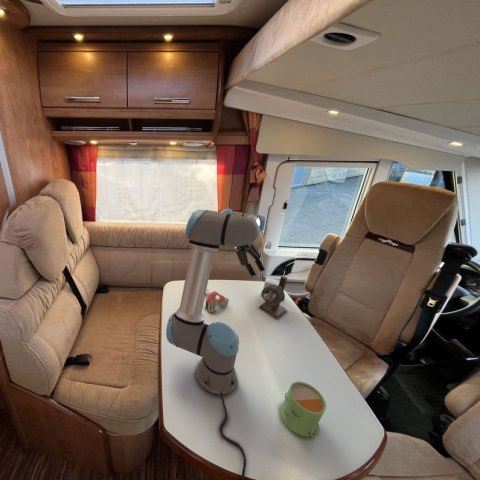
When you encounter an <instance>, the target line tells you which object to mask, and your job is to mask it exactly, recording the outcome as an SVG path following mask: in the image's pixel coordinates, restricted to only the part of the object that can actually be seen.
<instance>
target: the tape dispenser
mask: <svg viewBox="0 0 480 480" xmlns="http://www.w3.org/2000/svg"><path fill="white" fill-rule="evenodd" d="M205 296H207V298H206V300H205V309H206V310H207V311H208V312H209V313H213V312H215V311H216V304H217V306H218V307H220V308H221V307H226V308H227V307H228V305H229V303H230V299H229V298H227V297H225V296H224V295H223V294H220V293H218V291H214V290H213V291H210V290H208V288H207V289H206V294H205ZM217 296H218V299H216V298H217Z"/></svg>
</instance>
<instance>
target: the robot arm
mask: <svg viewBox="0 0 480 480" xmlns="http://www.w3.org/2000/svg"><path fill="white" fill-rule="evenodd" d="M266 220H267V217H266V216H265V215H261V214H253V213H246V212H240V211H233V209H232V208H225V209H223V210H221V211H215V210H210V209H196V210H194V211H193V212H192V213H191V214H190V216H189V218H188V220H187V223H186V226H185V231H184V232H185V233H184V235H185V237H186V238H187V239H188V245H189V246H190V248H191V249H190V254H189V260H188V264H187V268H186V274H185V279H184V284H183V289H182V294H181V299H180V305H179V307H178V308H176V309H175V310H174V312H172V313H171V314H170V316H169V317H168V321H167V324H166V327H165V328H166V330H165V335H166V340H167V342H168V343H169V344H171V345H173V346H175V347H176V348H179V349H182V350H183V351H187V352H189V353H192V354H194V355H196V356H198V357H201V359H200V360H199V361H198V362H197V365H196V373H195V374H196V379H197V381H198V383H199V385H200V386H201V388H203V390H205V391H207V392H208V393H209V394H212V395H214V396H220V398H221V404H222V407H223V410H224V418H223V419H224V420H222V423H221V424H220V425H219V426H220V427H219V432H220V435H221V437H222V438H223V439H224V440H225V441H226V442H229V443H230V444H232V445H235V446H237V448H238V449H239V451H241V454H242V458H243V459H242V460H243V462H242V464H243V465H242V470H241V480H245V475H246V468H247V457H246V454H245V451H244V449H243V447H242V446H241V445H240V443H238V442H236V441H235V440H233V439H231V438H229V437H227V436H226V435H225V434H224V432H223V428H224V426H225V425H226V423H227V421H228V411H227V408H226V404H225V399H224V396H225V395H228V394H230V393H231V392H233V390H234V389H235V387H236V384H237V374H236V370H235V364H236V359H237V354H238V353H239V348H240V347H239V346H240V345H239V344H240V340H239V336H238V334H237V333H236V330H234V328H233V327H231V326H230V325H228V324H226V323H224V322H221V321H216V322H214V321H213V322H211V323H210V324H208V323H205V316H204V314H203V308H204V303H205V298H206V289H207V290H208V284H209V279H210V275H211V269H212V266H213V265H212V264H213V261H214V254H215V253H216V252H218V251H219V250H220V247H221V246H225V247H233V250H234V251H235V254H236V255H237V258H238V261H239V263H240V265H241V266H243V267H245V268H246V270H247V272H248V273H249V275H250V277H254V276H256V275H257V273H256V271H255V270H254V268H253V266H252V264H251V262H249V259H248V255H247V254H249V255H250V256H251V257H252V258H253V259H254V263H255V264H256V267H257V268H258V270H259V272H263V271H265V270H266V268H265V266H264V265H263V263H262V260H261V259H262V258H261V257H262V255H261V253H260V252H259V251H258V249H257V248H256V246H255V245H254V243H253V242H255V241H256V240H257V239H258V237H259V235H260V232H262V231H264V229H265V225H266Z"/></svg>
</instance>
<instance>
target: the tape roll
mask: <svg viewBox="0 0 480 480" xmlns="http://www.w3.org/2000/svg"><path fill="white" fill-rule="evenodd" d="M263 288H264V287H263ZM263 288H262V290H261V297H262V299H263V301H264V303H265V302H266V303H267V304H269V305H271V306H277V305H279V304H280V305H281V303H283V302H284V301H285V299H286V294H285V290H284V291H283V290H282V289H281V288H280V287H279V286H277V285H275V284H272V285H268V286H267V287H265V288H264V289H263ZM270 291H272V292H274V293H275V295H276V297H277V299H275V298H273V297H272V296H271V297H270V298H269V299H265V298H264V295H265V294H268V293H269V292H270Z"/></svg>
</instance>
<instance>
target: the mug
mask: <svg viewBox="0 0 480 480" xmlns="http://www.w3.org/2000/svg"><path fill="white" fill-rule="evenodd" d="M284 398H285V399H284V401H283V403H282V406H281V409H280V416H281V419H282V421H283V423H284V424H285V425H286V426H287V428H288V429H289V430H290V431H292V432H293V433H294V434H296V435H298V436H301V437H310V436H311V437H312V438H317V437H318V436H319V433H320V424H319V423H320V421H321V419H322V417H323V415H324V414H325V412H326V410H327V409H326V408H327V403H326V399H325V398H324V396H323V394H322V393H321V392H320V391H319V390H318V389H317V388H316V387H314V386H313V385H311V384H309V383H307V382H305V381H300V380H299V381H294V382H292V383H291V384H290V386H289V388H288V390H287V392H285V394H284ZM315 430H316V432H315ZM314 433H315V434H314Z"/></svg>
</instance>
